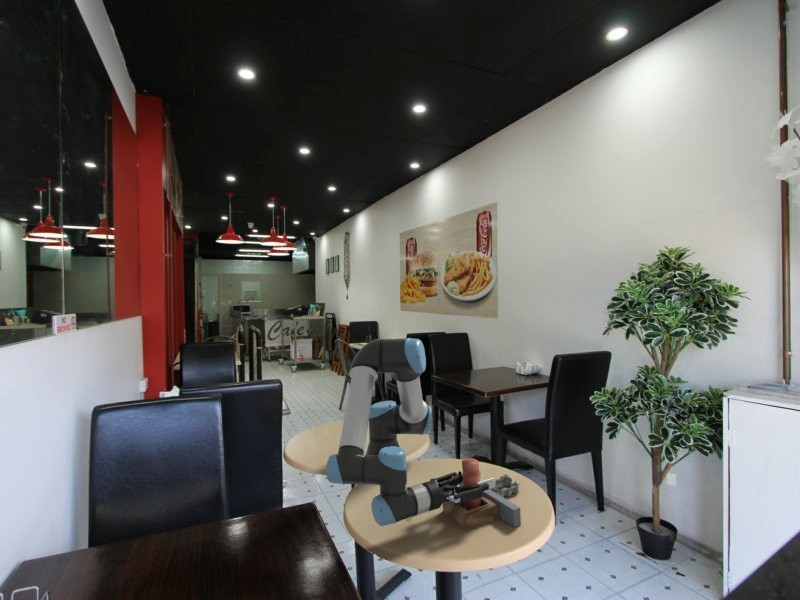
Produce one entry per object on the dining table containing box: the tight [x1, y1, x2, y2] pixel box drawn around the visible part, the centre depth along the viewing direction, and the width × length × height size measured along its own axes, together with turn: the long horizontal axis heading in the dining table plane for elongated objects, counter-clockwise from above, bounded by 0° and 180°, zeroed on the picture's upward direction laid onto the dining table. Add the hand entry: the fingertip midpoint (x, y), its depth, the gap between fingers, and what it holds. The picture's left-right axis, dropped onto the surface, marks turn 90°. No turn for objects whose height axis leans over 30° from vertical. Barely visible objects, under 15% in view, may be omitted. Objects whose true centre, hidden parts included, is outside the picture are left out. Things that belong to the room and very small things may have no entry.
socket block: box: [442, 495, 500, 531], centre depth 121 cm, size 12×12×4 cm
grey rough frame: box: [490, 473, 521, 498], centre depth 135 cm, size 11×8×4 cm
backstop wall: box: [458, 481, 522, 528], centre depth 126 cm, size 26×2×5 cm, turn 28°
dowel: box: [461, 457, 481, 511], centre depth 122 cm, size 5×5×16 cm
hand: (486, 478), depth 125 cm, fingers open, 6 cm apart
